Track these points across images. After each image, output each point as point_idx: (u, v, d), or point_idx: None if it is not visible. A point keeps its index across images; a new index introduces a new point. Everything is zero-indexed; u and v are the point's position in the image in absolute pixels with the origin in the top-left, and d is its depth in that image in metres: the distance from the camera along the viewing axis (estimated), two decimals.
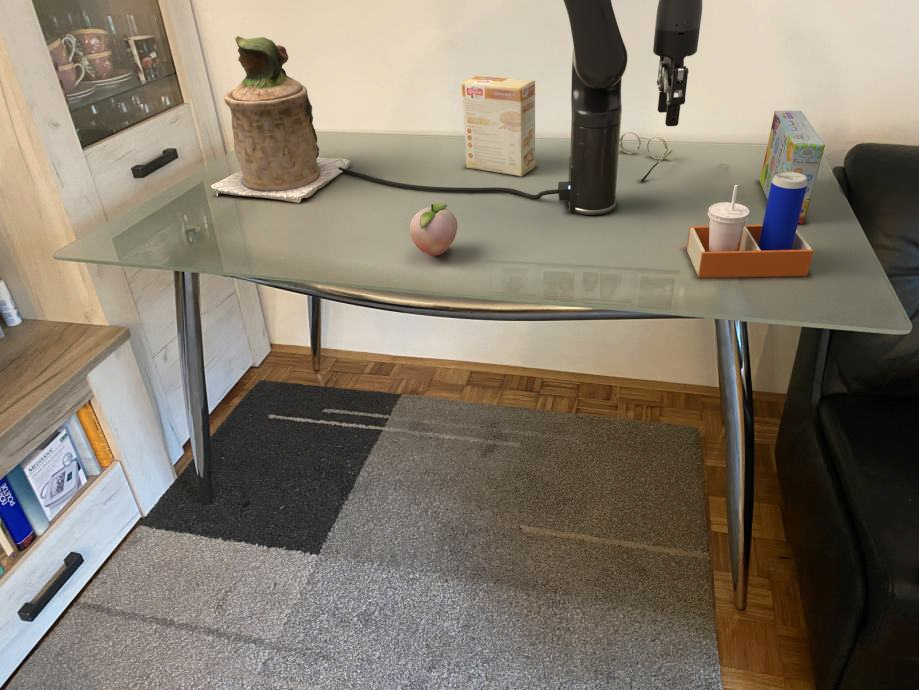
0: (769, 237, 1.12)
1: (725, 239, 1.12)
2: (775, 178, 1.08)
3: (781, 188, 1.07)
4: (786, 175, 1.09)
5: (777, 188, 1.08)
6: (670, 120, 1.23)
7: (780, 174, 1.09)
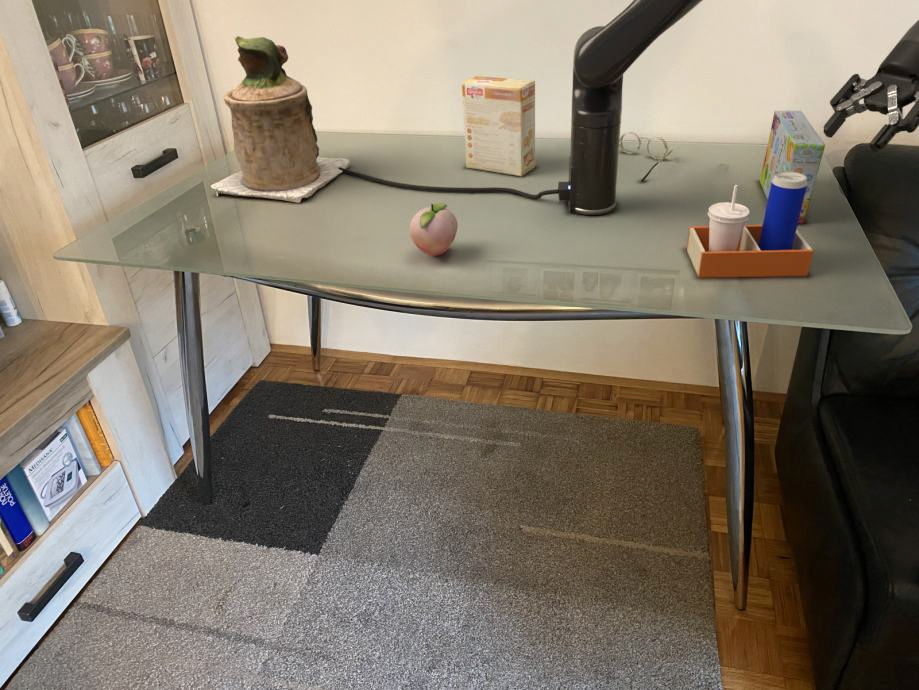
0: (769, 237, 1.12)
1: (725, 239, 1.12)
2: (775, 178, 1.08)
3: (781, 188, 1.07)
4: (786, 175, 1.09)
5: (777, 188, 1.08)
6: (883, 141, 1.05)
7: (780, 174, 1.09)
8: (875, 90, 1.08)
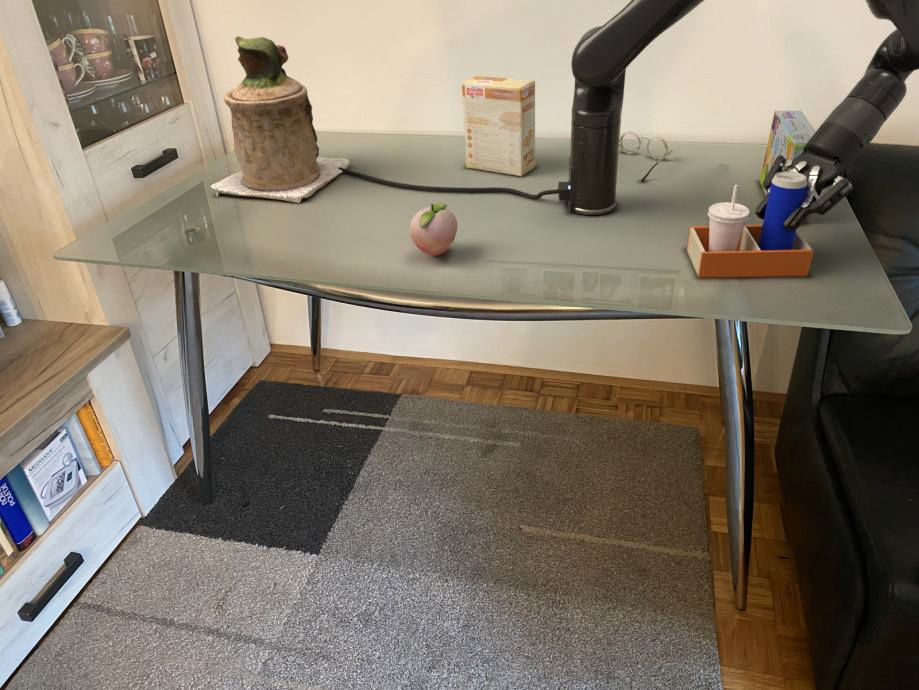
0: (769, 237, 1.12)
1: (725, 239, 1.12)
2: (775, 178, 1.08)
3: (781, 188, 1.07)
4: (786, 175, 1.09)
5: (777, 188, 1.08)
6: (796, 223, 1.08)
7: (780, 174, 1.09)
8: (800, 169, 1.10)
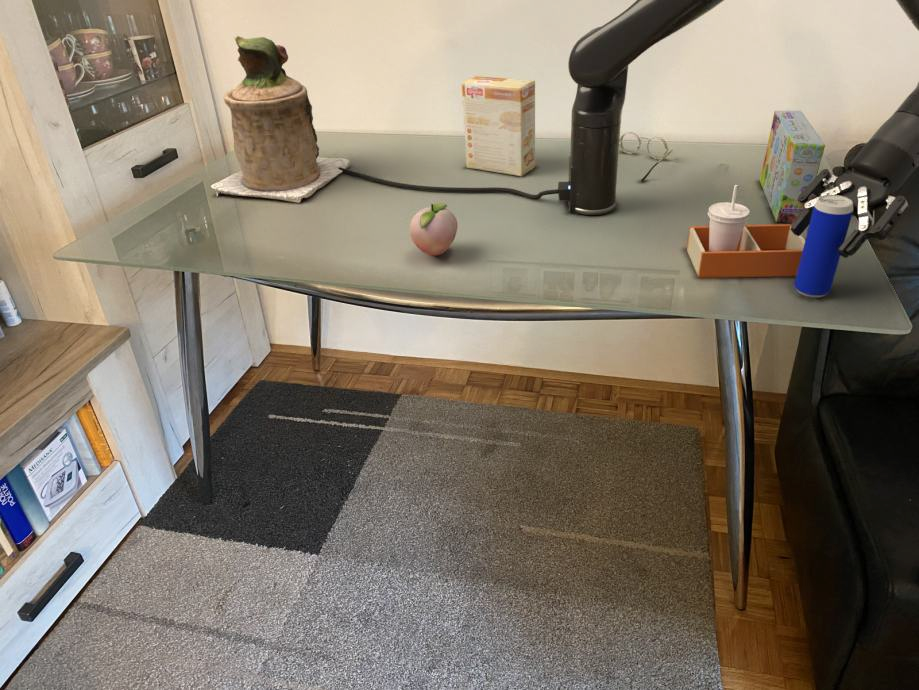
0: (810, 265, 1.03)
1: (725, 239, 1.12)
2: (818, 202, 0.99)
3: (825, 214, 0.99)
4: (830, 199, 1.00)
5: (820, 214, 0.99)
6: (852, 248, 0.98)
7: (823, 198, 1.01)
8: (845, 190, 1.01)
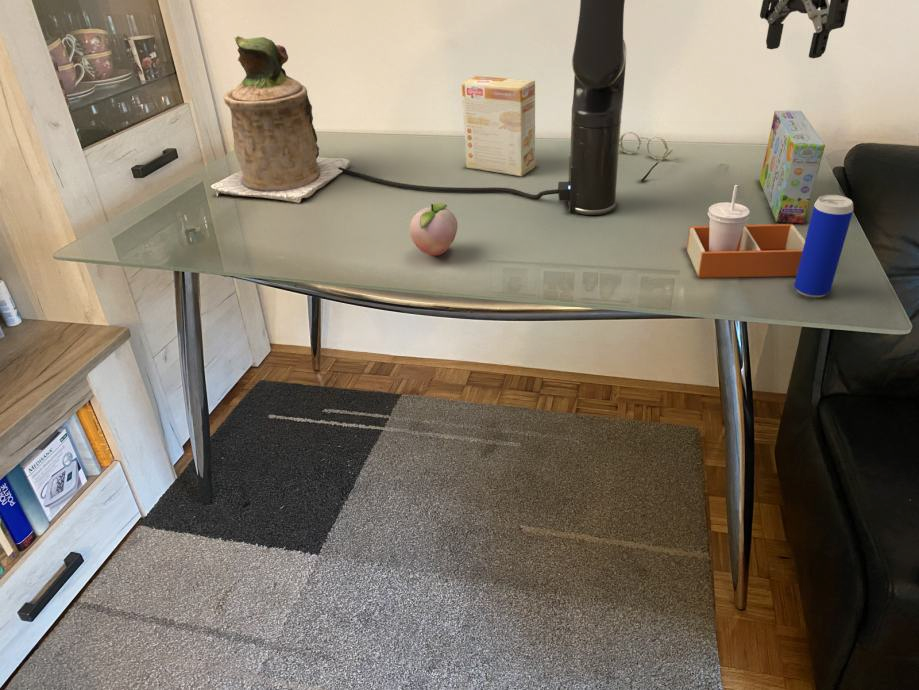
0: (810, 265, 1.03)
1: (725, 239, 1.12)
2: (818, 202, 0.99)
3: (825, 214, 0.99)
4: (830, 199, 1.00)
5: (820, 213, 0.99)
6: (820, 50, 1.06)
7: (823, 198, 1.01)
8: None
